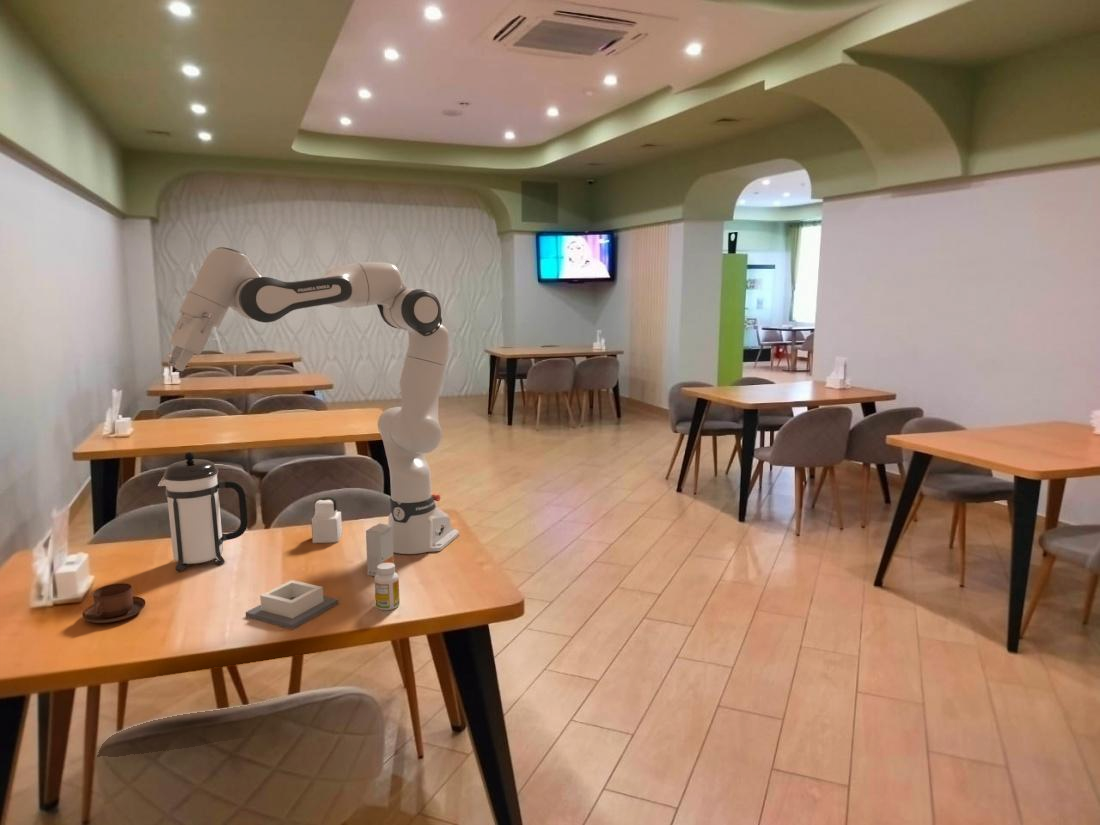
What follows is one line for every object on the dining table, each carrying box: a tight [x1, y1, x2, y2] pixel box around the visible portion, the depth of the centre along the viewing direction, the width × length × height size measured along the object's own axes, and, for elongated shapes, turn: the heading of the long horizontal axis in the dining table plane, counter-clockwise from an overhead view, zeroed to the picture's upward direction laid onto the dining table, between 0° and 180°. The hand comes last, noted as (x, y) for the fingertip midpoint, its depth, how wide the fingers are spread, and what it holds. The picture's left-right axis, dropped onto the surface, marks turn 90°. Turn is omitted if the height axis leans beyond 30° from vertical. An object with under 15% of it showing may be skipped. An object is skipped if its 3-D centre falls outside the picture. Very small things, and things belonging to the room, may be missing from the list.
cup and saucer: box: [82, 582, 146, 624], centre depth 158 cm, size 12×12×6 cm
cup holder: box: [245, 579, 339, 630], centre depth 161 cm, size 14×14×4 cm
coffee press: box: [157, 451, 248, 573], centre depth 188 cm, size 17×16×30 cm
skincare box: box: [365, 523, 395, 577], centre depth 181 cm, size 6×4×12 cm
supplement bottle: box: [374, 563, 401, 611], centre depth 162 cm, size 5×5×10 cm
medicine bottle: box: [310, 496, 343, 544], centre depth 206 cm, size 7×7×12 cm
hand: (174, 367), depth 159 cm, fingers open, 8 cm apart
